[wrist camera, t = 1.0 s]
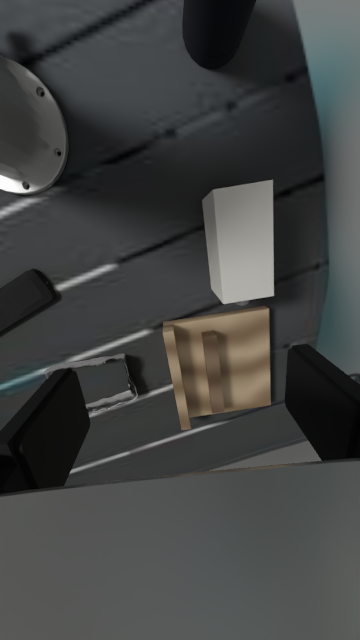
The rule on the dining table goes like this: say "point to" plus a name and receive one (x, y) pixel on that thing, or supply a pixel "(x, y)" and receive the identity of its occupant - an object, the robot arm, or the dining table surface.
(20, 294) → the remote control
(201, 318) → the cleat board
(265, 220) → the light grey block
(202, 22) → the black bottle
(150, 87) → the dining table surface
